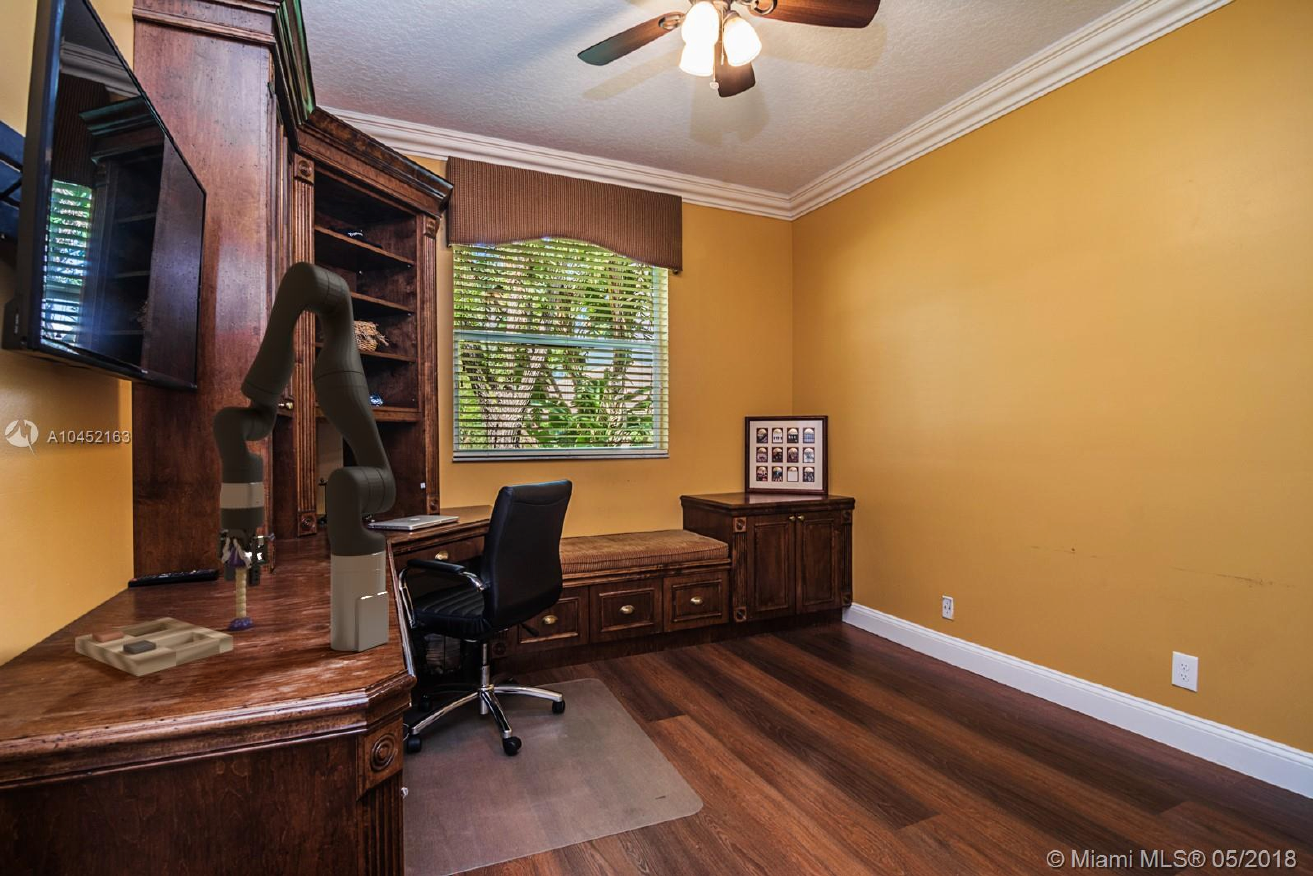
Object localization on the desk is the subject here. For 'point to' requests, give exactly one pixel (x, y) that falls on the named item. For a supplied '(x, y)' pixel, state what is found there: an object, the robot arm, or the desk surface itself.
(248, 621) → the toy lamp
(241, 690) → the desk surface
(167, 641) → the socket board
